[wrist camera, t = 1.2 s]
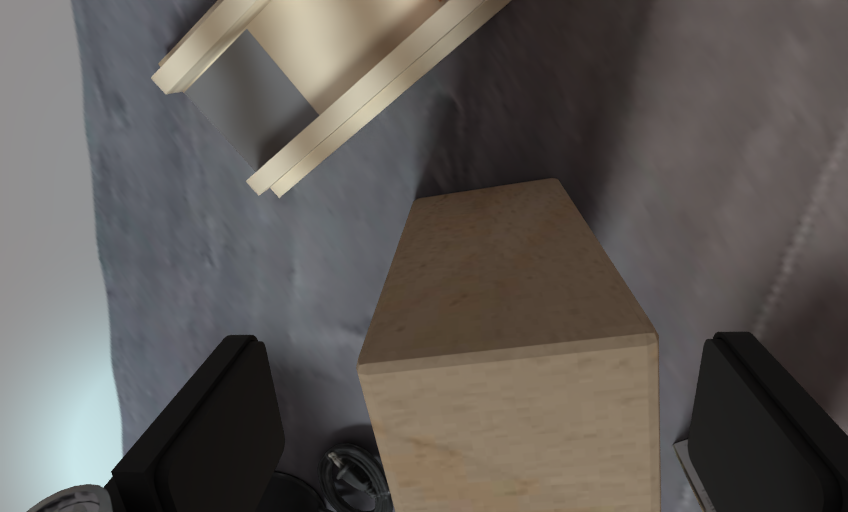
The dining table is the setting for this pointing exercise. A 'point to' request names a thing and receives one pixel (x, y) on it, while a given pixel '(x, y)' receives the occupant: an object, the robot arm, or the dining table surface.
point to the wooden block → (511, 362)
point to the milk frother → (330, 484)
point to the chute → (309, 71)
